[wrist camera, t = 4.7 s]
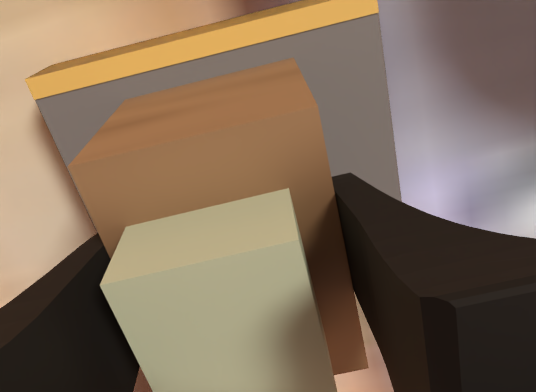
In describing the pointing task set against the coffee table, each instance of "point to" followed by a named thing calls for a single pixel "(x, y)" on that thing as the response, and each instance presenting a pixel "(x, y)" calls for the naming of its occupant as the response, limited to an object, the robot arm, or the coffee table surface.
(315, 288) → the brown block
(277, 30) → the dock
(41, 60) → the coffee table surface
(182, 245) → the block
